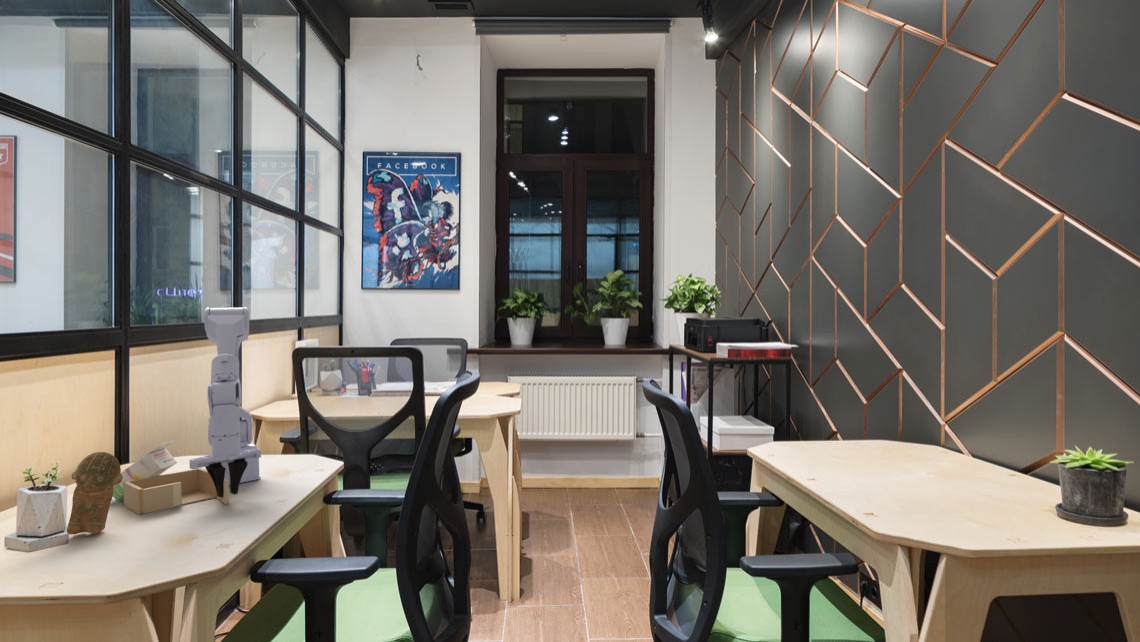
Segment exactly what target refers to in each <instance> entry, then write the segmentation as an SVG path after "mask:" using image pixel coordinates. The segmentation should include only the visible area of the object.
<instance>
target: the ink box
mask: <svg viewBox="0 0 1140 642" xmlns="http://www.w3.org/2000/svg"><path fill="white" fill-rule="evenodd" d="M175 441H176V439H174V440H171V441H168V442H164V443H162V444H160V445H158V446H157V447H155V448H153V449H152V450H151V451H149V452H148V453H146V454H145V455H143V456H142V457H140V459H138V460H136V461H135V462H134V463H132V464H131V465H129V466H128V467H127V468H126V469H124V470H123V471H121V475H122V476H123V478H122V481H121V482H120V483H119V484H115V485H114V486H113V497H112V498H114V499H115V501H116V502H119V501H120V500H124V497H123V482H126V481H131V480H137V479H142V478H148V477H153V476H159V475H163V473H165V472H166V471H167V470H169V469H170V468H172V467H173V466H175V465H177V463H178V462H177V461H176V459H175V458H174V457H173V456H172V454H171V453H170V452H169V450H168V449H167V448H166V447H169V445H172V444H173V443H174V442H175Z"/></svg>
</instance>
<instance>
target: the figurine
mask: <svg viewBox="0 0 1140 642" xmlns="http://www.w3.org/2000/svg"><path fill="white" fill-rule="evenodd" d="M121 468H122V467H121V464H120V462H119V459H118V458H117V457H116V456H114V455H113V454H111V453H109V452H105V451H98V452H93V453H91V454H89V455H87V456H85V457H84V458H82V460H81V461H80V462H79V464H78V465H77V468H76V469H75V471H73V473H72V474H71V479H72V480H75V485H76V486H75V488H74V491H73V493H72V505H71V512H70V517H69V519H68V524H67V527H66V533H67V534H68V535H77V534H82V533H89V534H99V533H101V532H102V531H104V530H105V528H106V524H107V519H108V514H109V510H110V505H111V504H112V503H111V502H112V500H113V498H114V497H113V486H114V485H115V484H119V483H120V482H121V481H122V478H123V476H122V475H121V472H122V470H121Z"/></svg>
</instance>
